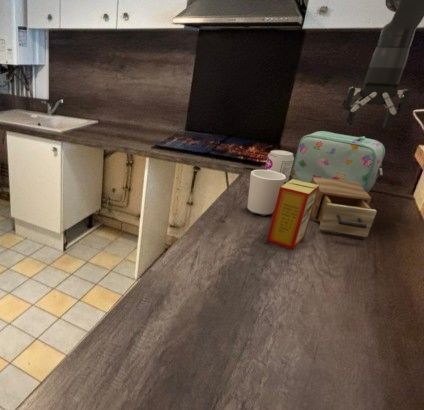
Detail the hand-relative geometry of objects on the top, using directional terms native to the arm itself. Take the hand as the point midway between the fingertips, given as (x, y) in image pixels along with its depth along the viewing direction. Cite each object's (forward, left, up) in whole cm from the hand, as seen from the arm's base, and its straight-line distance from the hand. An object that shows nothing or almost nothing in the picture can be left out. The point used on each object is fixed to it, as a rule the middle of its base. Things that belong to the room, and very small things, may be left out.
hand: (366, 126), depth 103 cm
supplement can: (+18, -13, -28) cm, 36 cm away
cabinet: (+2, +1, -28) cm, 28 cm away
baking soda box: (+17, +25, -28) cm, 41 cm away
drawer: (+2, +12, -27) cm, 30 cm away
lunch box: (-2, -25, -28) cm, 38 cm away
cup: (+23, +8, -28) cm, 37 cm away
